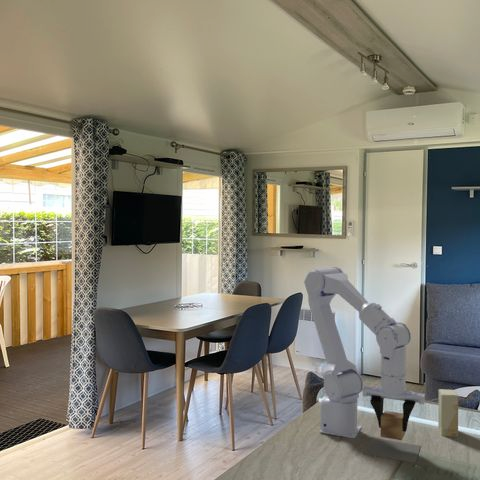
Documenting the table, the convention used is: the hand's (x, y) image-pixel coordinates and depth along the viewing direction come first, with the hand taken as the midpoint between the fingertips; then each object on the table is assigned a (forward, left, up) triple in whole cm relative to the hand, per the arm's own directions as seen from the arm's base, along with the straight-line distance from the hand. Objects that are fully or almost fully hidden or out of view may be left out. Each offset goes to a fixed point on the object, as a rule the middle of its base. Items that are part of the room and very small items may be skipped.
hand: (392, 428), depth 133 cm
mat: (0, 0, -6) cm, 6 cm away
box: (+11, +17, -6) cm, 21 cm away
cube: (0, 0, -2) cm, 2 cm away
